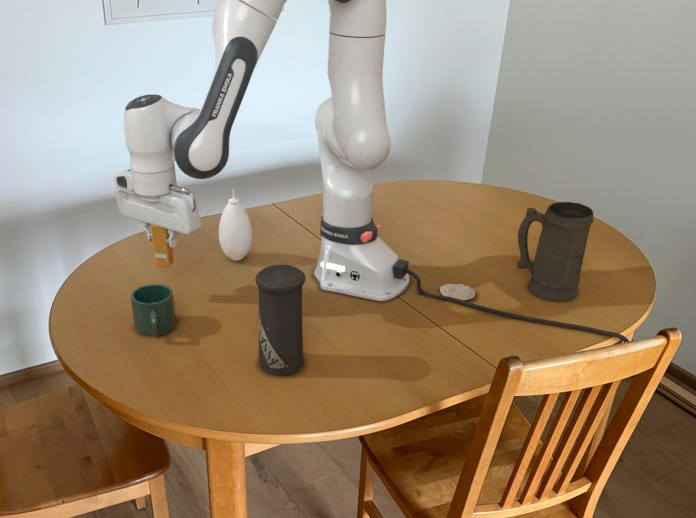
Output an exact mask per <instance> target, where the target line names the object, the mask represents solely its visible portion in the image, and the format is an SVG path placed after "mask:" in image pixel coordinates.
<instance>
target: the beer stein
mask: <svg viewBox="0 0 696 518" xmlns="http://www.w3.org/2000/svg"><path fill="white" fill-rule="evenodd" d="M534 222H538V223H540V224H541V232H540V235H539V237H538V242H537V247H536V251H535V256H534V260H533V261H532V260H531V259H530V254H529V243H528V242H529V241H528V235H529V229H530V226H531V224H533V223H534ZM593 223H594V211H593V209H592V208H591V207H589V206H587V205H585V204H582V203H580V202H571V201H558V202H557V201H556V202H552V203H551V204H549V205H548V206H547V209H546V211H545V212H544V213H542V212H540V211H538V210H537V209H536V208H535V207H527V209H526V213H525V216H524V218H523V220H522V222H521V223H520V225H519V228H518V232H517V244H518V249H519V254H520V258H519V260H518V261H517V263H516V268H517V269H525V270H528V271H529V272H530V274H531V278H530V280H529V282H528V288H529V291H530V292H531V293H532V294H534V295H535V296H536V297H538V298H541V299H545V300H548V301H555V302H564V301H569V300H572V299H574V298H575V297H577V294H578V289H579V287H578V286H579V284H580V283H581V279H580V276H581V271H582V267H583V262H584V258H585V253H586V247H587V242H588V238H589V234H590V229H591V225H593Z"/></svg>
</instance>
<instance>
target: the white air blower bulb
mask: <svg viewBox="0 0 696 518" xmlns="http://www.w3.org/2000/svg"><path fill="white" fill-rule="evenodd" d="M240 202H241V201H240V199H239V198H237V197H236V196H235V188H233V189H232V197H231V198H229V199H228V201H227V203H226V206H225V207H224V209H223V210H222V214H221V216H220V220H219V225H218V241H219V245H220V248H221V250H222V252H223V253H224V255H225V256H226V257H227V258H229V259H230V260H232V261H235V262H236V261H237V262H238V261H240V260H243V259H244V258H245V257H247V256H248V254H249V252H250V250H251V247H252V243H253V228H252V224H251V219H250V217H249V215H248V213H247V211H246V209H245V207H244V206H243V204H242V203H240Z"/></svg>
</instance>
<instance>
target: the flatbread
mask: <svg viewBox="0 0 696 518" xmlns="http://www.w3.org/2000/svg"><path fill="white" fill-rule="evenodd" d="M439 292H440V294H441V296H448V297H453V298H457V299H460V300H463V301H468V300H472V299H474V298H475V297H476V290H475V289H474V288H472V287H470V285H466V284H464V283H446V284H444V285H441V286H440V287H439Z"/></svg>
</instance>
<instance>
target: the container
mask: <svg viewBox="0 0 696 518" xmlns="http://www.w3.org/2000/svg"><path fill="white" fill-rule="evenodd" d="M254 280H255V284H256V286H257V287H258V289H257V290H258V291H257V292H258V294H257V295H258V365H259V367H260V369H261V370H262V371H264V372H265V373H266V374H270V375H273V376H280V377H281V376H282V377H283V376H290V375H291V376H292V375H294V374H296V373H298V372H299V371H300V370H301V369H302V368H303V366H304V342H303V340H304V338H303V337H304V336H303V286H304V284H305V282H306V274H305V273H304V272H303V270H301V268H298V267H296V266H293V265H290V264H289V265H288V264H273V265H269V266H265V267H264V268H262V269H260V270H259V271H258V272H257V273H256V275H255V279H254Z"/></svg>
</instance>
